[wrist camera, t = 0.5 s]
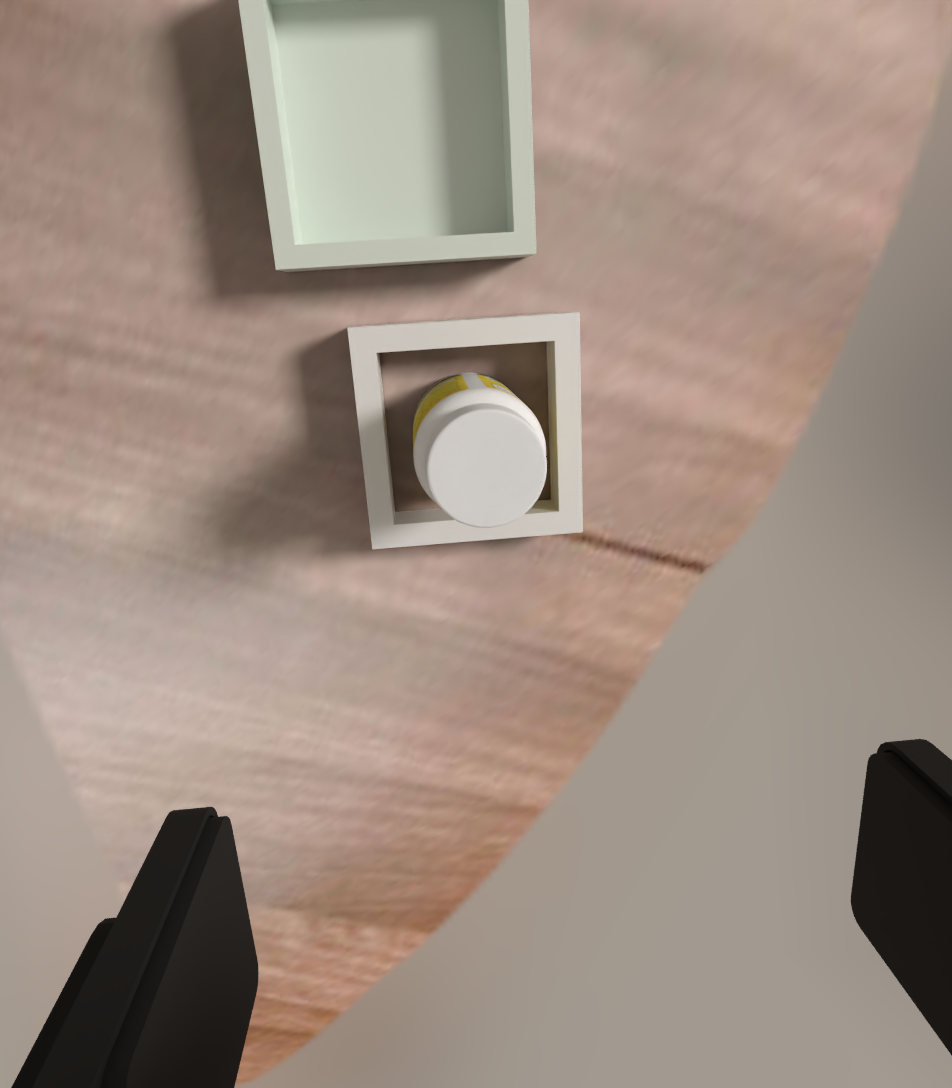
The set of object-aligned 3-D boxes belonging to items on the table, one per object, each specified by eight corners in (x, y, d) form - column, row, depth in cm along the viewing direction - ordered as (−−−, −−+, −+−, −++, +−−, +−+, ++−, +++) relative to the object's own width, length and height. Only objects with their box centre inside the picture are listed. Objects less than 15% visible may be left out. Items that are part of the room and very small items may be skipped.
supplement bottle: (413, 480, 32) (412, 540, 24) (411, 370, 31) (410, 395, 23) (521, 480, 33) (555, 538, 25) (525, 372, 31) (563, 396, 23)
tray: (248, -16, 26) (231, -47, 24) (516, -27, 27) (526, -59, 24) (287, 272, 29) (275, 269, 27) (526, 257, 30) (536, 253, 27)
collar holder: (351, 325, 30) (347, 327, 28) (569, 311, 30) (579, 312, 29) (374, 535, 33) (372, 549, 31) (573, 518, 33) (582, 532, 31)
